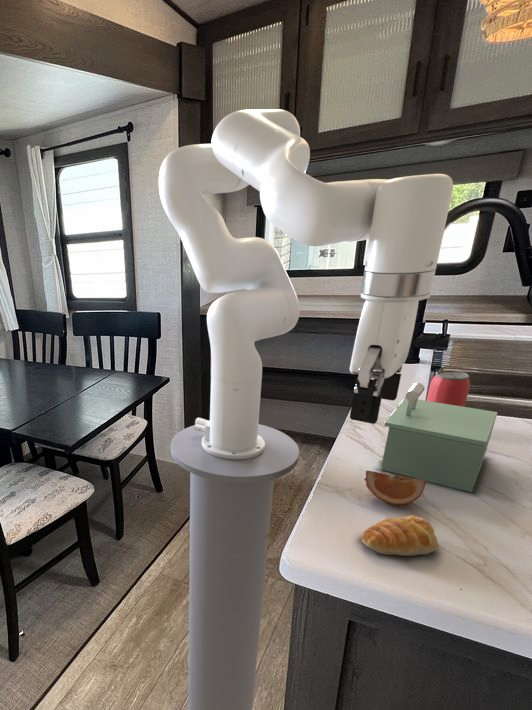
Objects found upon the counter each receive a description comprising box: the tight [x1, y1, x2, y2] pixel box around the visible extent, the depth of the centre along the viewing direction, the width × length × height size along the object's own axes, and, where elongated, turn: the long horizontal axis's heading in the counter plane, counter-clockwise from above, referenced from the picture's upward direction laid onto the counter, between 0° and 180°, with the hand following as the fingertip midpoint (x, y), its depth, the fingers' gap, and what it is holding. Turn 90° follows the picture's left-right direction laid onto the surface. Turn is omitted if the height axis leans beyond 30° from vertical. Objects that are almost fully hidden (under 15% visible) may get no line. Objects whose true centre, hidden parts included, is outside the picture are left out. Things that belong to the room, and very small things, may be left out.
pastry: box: [361, 514, 440, 557], centre depth 69 cm, size 9×7×4 cm
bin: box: [380, 418, 497, 493], centre depth 87 cm, size 14×15×9 cm
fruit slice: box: [364, 470, 426, 506], centre depth 78 cm, size 8×7×5 cm
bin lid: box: [383, 382, 498, 446], centre depth 84 cm, size 14×15×6 cm
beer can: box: [426, 369, 471, 407], centre depth 99 cm, size 7×7×12 cm
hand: (373, 409), depth 66 cm, fingers open, 9 cm apart
